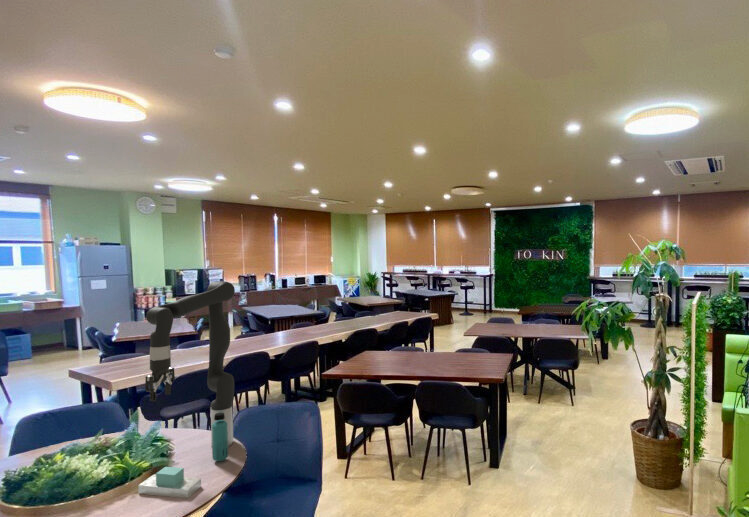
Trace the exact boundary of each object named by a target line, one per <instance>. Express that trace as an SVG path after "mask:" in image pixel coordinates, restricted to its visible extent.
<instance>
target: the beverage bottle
mask: <svg viewBox="0 0 749 517" xmlns="http://www.w3.org/2000/svg"><path fill="white" fill-rule="evenodd" d="M224 418H225V416H224V413H216V414H215V417H214V420H218V421H215V422H214V423H213V424H212V446H211V451H212V452H211V453H212V454H211V456H212V460H213V461H214V462H217V461H219V462H220V461H224V460H226V459H227V458H228V457H229V446H228V431H227V422H226V421H224V420H223V419H224Z"/></svg>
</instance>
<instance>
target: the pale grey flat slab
mask: <svg viewBox="0 0 749 517" xmlns="http://www.w3.org/2000/svg"><path fill="white" fill-rule="evenodd" d="M201 487H202V479H201V478H200V477H199V478H198V477H188V476H184V479H183V480H182V481H180V482H179V483H178V484H177V485H176V486H168V485H157V484H156V473H155V474H152V475H151V476H150V477H147V479H145V480H144V481H142V482H141V483H139V484H138V487H137V488H138V491H137V492H138V495H139V494H141V495H151V496H160V497H171V498H178V499H180V498H181V499H189V498H190V497H191V496H193V494H194V493H196V492H197V491H198V490H199V489H200V488H201Z"/></svg>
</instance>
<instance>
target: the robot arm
mask: <svg viewBox="0 0 749 517" xmlns="http://www.w3.org/2000/svg"><path fill="white" fill-rule="evenodd" d="M235 291H236V290H235V286H234V285H233V284H232V283H231V282H229V281H223V280H221V281H220V280H218V281H212V282H211V283H209V284H208V287H207V290H206V291H204V292H201V293H197V294H192V295H188V296H185V297H182V298H180V299H176V300H174V301H171V302H168V303H164V304H160V305H157V306H154V307H151V308H150V309H149V310H148V311H147V313H146V316H145V319H146V321H147V322H148V323H149V324H150V325H154V326H155V330H154V331H153V332H151V333H150V336H149V341H150V346H149V348H150V349H149V370H150V371H151V375H146V376H145V386H144V390H145V392H149V401H150V402H156V401H157V389H158V387H159V386H160V385H161V384H163V383H164V394H165V395H171V393H172V384H173V383H175V380H176V379H175V378H176V377H175V368H174V367H171V366H172V364H171V362H172V361H171V359H172V358H171V357H172V356H171V355H172V354H171V345H170V344H171V343H170V342H171V340H170V339H171V337H170V335H171V332H172V327H173V322H174V318H175V319H176V318H181V317H184V316H185V315H188V314H190V313H193V312H195V311H198V310H200V309H203V308H205V307H208V325H209V326H208V328H209V331H208V332H209V334H208V342H209V343H208V345H209V347H208V348H209V351H208V352H209V353H208V356H209V357H208V370H207V379H206V381H207V382H206V383H207V388H208V389H209V390H210V391H211V392H214V393H216V395H215V397H216V398H215V399H214V400H212V401H211V403H210V427H211V428H210V429H211V430H210V431H211V432H210V433H211V434H210V437H211V438H210V439H211V440H210V441H211V447H212V424H213V423H214V422H215V421H218V420H214V417H215V414H216V413H224V416H225V418H224V419H223V420H224V421H226V422H227V431H228V447H230V446H232V444H233V441H234V421H233V402H234V398H235V378H234V376H233V374H231V373H228V372H225V370H224V361H225V360H224V359H225V357H226V354H227V352H228V349H229V348H230V344H231V327H230V324H229V322H228V320H227V318H226V315H225V314H224V309H223V304H224V302H227V301H230V300H231V299H232V298H234V295H235V294H236V292H235Z"/></svg>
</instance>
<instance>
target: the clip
mask: <svg viewBox="0 0 749 517" xmlns="http://www.w3.org/2000/svg"><path fill="white" fill-rule="evenodd" d="M184 470H185V469H184V467H176V466H175V467H174V466H173V467H172V466H164V467H163V468H162V469H160V470H159V471H157V472H156V473H155V475H156V484H157V485H168V486H176V485H177V484H178V483H179V482H180V481H182V480H183V479H184V477H185V475H184V474H185V472H184Z"/></svg>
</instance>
